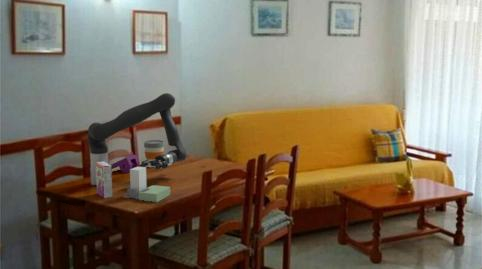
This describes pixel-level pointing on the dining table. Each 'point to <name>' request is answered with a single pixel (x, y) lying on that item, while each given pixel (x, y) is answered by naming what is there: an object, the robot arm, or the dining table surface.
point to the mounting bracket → (127, 163)
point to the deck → (149, 193)
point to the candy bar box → (104, 179)
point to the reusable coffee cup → (153, 149)
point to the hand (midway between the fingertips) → (148, 166)
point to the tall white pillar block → (138, 179)
